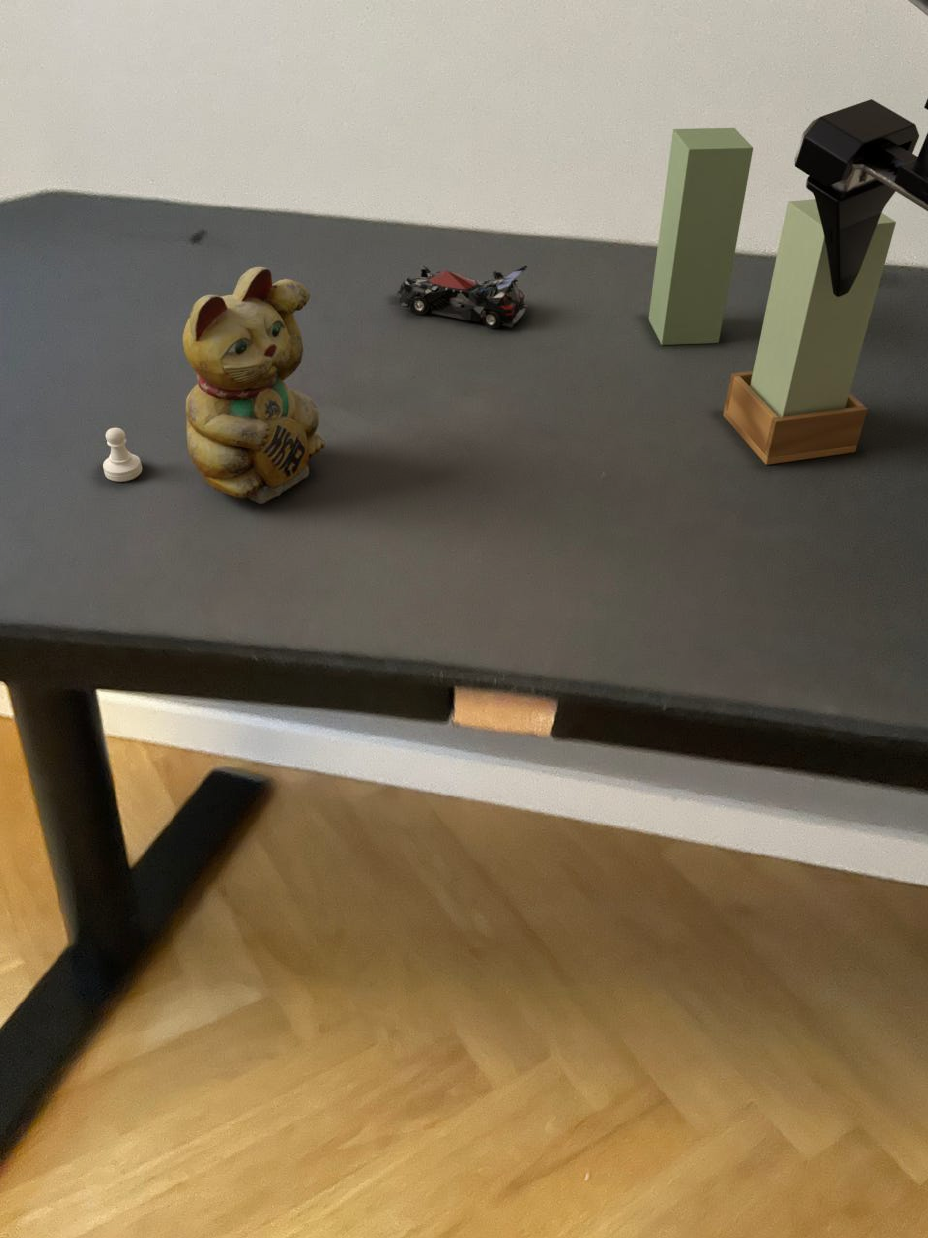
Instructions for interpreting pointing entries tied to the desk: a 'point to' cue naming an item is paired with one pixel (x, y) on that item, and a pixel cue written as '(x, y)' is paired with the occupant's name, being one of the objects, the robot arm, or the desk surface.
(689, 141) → the pillar
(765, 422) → the small open wooden box
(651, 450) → the desk surface
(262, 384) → the decorative figurine
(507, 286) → the toy car
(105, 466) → the chess pawn
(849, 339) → the sage green pillar
